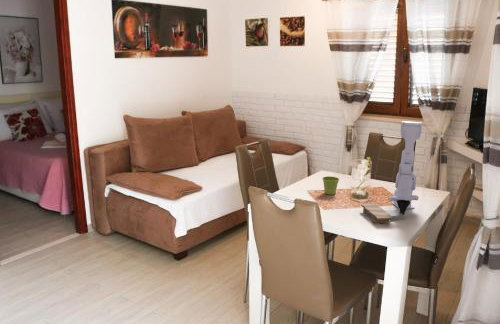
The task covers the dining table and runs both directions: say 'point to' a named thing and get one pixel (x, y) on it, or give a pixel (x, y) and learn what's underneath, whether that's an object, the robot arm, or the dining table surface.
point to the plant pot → (330, 184)
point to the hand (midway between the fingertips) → (401, 214)
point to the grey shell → (395, 214)
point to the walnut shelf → (376, 213)
